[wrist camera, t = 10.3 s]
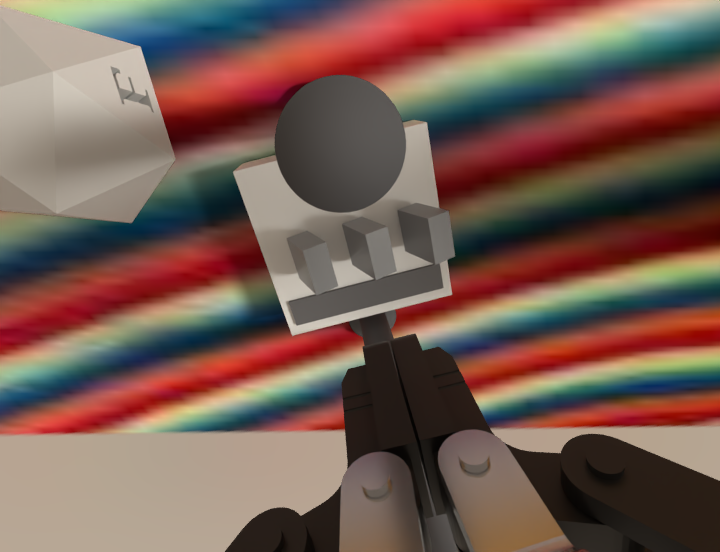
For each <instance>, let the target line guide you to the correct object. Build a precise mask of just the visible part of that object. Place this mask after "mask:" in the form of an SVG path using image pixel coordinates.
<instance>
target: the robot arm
mask: <svg viewBox="0 0 720 552" xmlns="http://www.w3.org/2000/svg"><path fill="white" fill-rule="evenodd" d="M390 343H391V348H392V352H393V356H394V361H395V364H394V361H393V357H392V354H391V350H390V346H389V343H388V340H387V341H383V342H379V343H375V344H371V345H367V346H363V352H364V358H365V364H366V365H363V366H359V367H355V368H351V369H348V370H347V373H346V375H345V377H344V379H343V382H342V395H343V408H344V421H345V433H346V446H347V459H348V468H347V471H346V473H345V474H344V476H343V479H342V483H341V486H340V487H339V489H338V490H337V491H336V492H335V494H334V495H333V496H331V497H330V498H329V499H328V500H327V501H325V502H324V503H322V504H321V505H319V506H317V507H316V508H314V509H312V510H311V511H309V512H307V513H305V514H304V515H302V516H300V515H299V514H298V513H297V512H295V511H294V510H291V509H289V508H273V509H270V510H267V511H265V512H263V513H261V514H259V515H257V516H256V517H255V518H253V519H252V520H251V521H250V522H249V523H248V524H247V525H246V526H245V527H244V528H243V529H242V531H241V532H240V533H239V535H238V536H237V537H236V538H235V540H234V541H233V542H232V543H231V545H230V546H229V547H228V548H227V550H226V551H225V552H432V544H431V539H430V535H429V531H428V527H427V523H426V518H430V517H434V516H433V512H432V507H431V503H430V499H429V494H428V490H427V485H426V481H425V477H426V480H427V484H428V487H429V491H430V494H431V498H432V501H433V505H434V509H435V512H436V516H438V515H442V514H446V515H447V518H448V521H449V524H450V528H451V531H452V534H453V539H454V544H455V549H456V552H720V481H718V480H716V479H714V478H711V477H709V476H706V475H704V474H702V473H699V472H697V471H694V470H692V469H689V468H687V467H684V466H682V465H679V464H677V463H675V462H672V461H670V460H667V459H665V458H663V457H660V456H658V455H655V454H653V453H650V452H648V451H646V450H643V449H641V448H638V447H636V446H633V445H631V444H628V443H626V442H624V441H621V440H619V439H616V438H613V437H610V436H606V435H600V434H586V435H580V436H577V437H575V438H572V439H571V440H569V441H568V442H567V443H566V444H565V445H564V447H563V449H562V451H561V453H544V452H529V451H524V450H519V449H516V448H514V447H511V446H509V445H507V444H505V443H504V442H503V441H502V440H501V439H499V438H498V437H496V436H495V435H494V434H493V433H492V431H491V430H490V428H489V426H488V425H487V423H486V421H485V419H484V417H483V415H482V413H481V411H480V409H479V407H478V405H477V403H476V401H475V399H474V398H473V396H472V394H471V392H470V390H469V388H468V386H467V384H466V383H465V380H464V378H463V376H462V374H461V372H460V371H459V369H458V367H457V365H456V363H455V361H454V359H453V357H452V356H451V355H450V354H448V353H447V352H445V351H444V350H443V349H441V348H440V347H436V348H432V349H428V350H424V351H422V348H421V346H420V343H419V341H418V339H417V336H416V334H411V335H407V336H403V337H399V338H395V339H391V340H390ZM395 365H396V368H395ZM396 369H397V371H396ZM397 374H398V375H397ZM421 462H422V464H421ZM422 466H423V468H422ZM423 470H424V472H423ZM424 473H425V477H424Z"/></svg>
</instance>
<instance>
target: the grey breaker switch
mask: <svg viewBox="0 0 720 552" xmlns="http://www.w3.org/2000/svg"><path fill="white" fill-rule="evenodd" d="M397 212H398V217H399V222H400V227H401V232H402V237H403V243H404V248H405V251H406V252H408V253H410V254H412V255H414V256H417V257H419V258H421V259H423V260H426V261H428V262H430V263H432V264H434V265H437V264H439V263H441V262H443V261H446V260H448V259H450V258H452V257H455V252H454V245H453V237H452V230H451V223H450V216H449V210H445V209H440V208H436V207H432V206H428V205H424V204H420V203H414V204H411V205H408V206H406V207H403V208H401V209H398V210H397Z"/></svg>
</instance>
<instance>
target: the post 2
mask: <svg viewBox="0 0 720 552" xmlns="http://www.w3.org/2000/svg"><path fill="white" fill-rule="evenodd" d="M395 320H396V311H395V309H394V310H391V311H387V312H383V313H379V314H375V315H371V316H367V317H363V318H359V319H355V320H352V321H349V324H350V326H351V328H352V330H353V331H354V332H355V333H356V334H358V335H359V336H362V337H363V340H364V345H365V346H367V345H371V344H375V343H379V342H383V341H387V340H388V343H389V346H390V350H391V354H392V357H393V361H394V356H393V352H392V348H391V343H390V340H391V339H394V338H393V335H392V332H391V328H392V327H393V325H394V323H395ZM394 364H395V361H394ZM395 368H396V365H395ZM396 371H397V369H396ZM397 375H398V374H397ZM421 464H422V462H421ZM422 468H423V466H422ZM423 472H424V470H423ZM424 477H425V473H424ZM425 481H426V485H427V490H428V494H429V499H430V503H431V507H432V512H433V516H434V517H430V518H426V523H427V527H428V531H429V535H430V539H431V544H432V552H456V549H455V544H454V539H453V534H452V531H451V528H450V524H449V521H448V518H447V515H446V514H442V515H438V516H436V512H435V509H434V505H433V501H432V498H431V494H430V491H429V487H428V484H427V480H426V477H425Z"/></svg>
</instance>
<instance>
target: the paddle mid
mask: <svg viewBox="0 0 720 552" xmlns="http://www.w3.org/2000/svg"><path fill="white" fill-rule="evenodd" d="M342 227H343V231H344V235H345V239H346V242H347V246H348V250H349V254H350V258H351V262H352V265H353V266H355V267H356V268H358V269H359V270H361V271H363V272H364V273H366V274H367V275H369V276H370V277H372V278H373V279H375V280H378V279H380V278H382V277H385V276H387V275H389V274H392V273H394V272H396V271H397V270H396V265H395V260H394V255H393V251H392V246H391V241H390V236H389V232H388V227H387V226H385V225H383V224H380V223H377V222H375V221H372V220H369V219H367V218H364V217H359V218H356V219H354V220H351V221H348V222H346V223H343V224H342Z"/></svg>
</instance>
